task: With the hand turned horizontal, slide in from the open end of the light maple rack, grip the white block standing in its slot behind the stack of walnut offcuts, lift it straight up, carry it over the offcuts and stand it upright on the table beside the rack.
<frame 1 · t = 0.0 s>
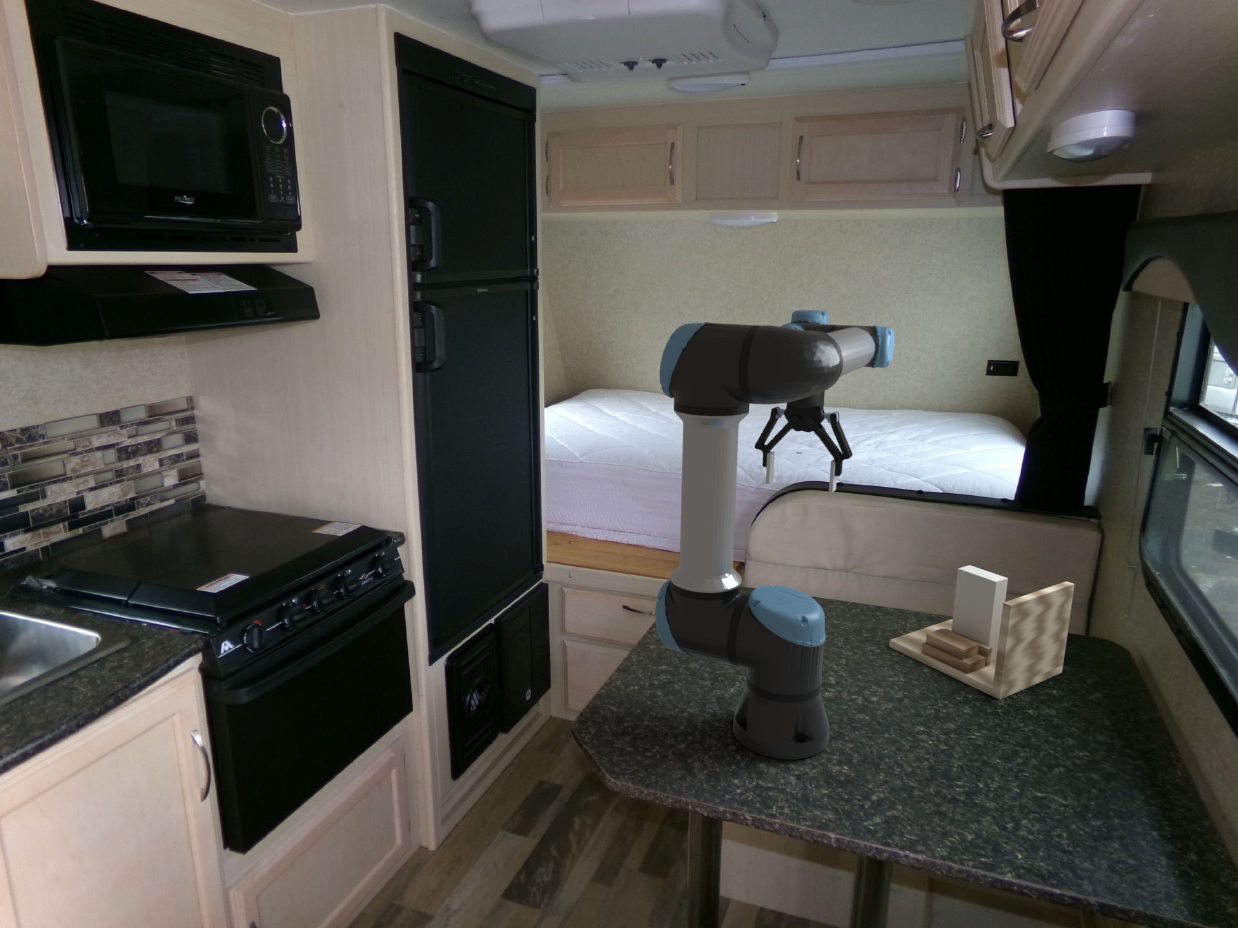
hand: (800, 486, 174), 28 cm above the table, tool pointing down, fingers open, 13 cm apart
maple rack: (972, 659, 158), on the table
white block: (973, 651, 158), point 1 cm above the table, touching maple rack
walnut offcuts: (952, 659, 154), point 1 cm above the table, touching maple rack
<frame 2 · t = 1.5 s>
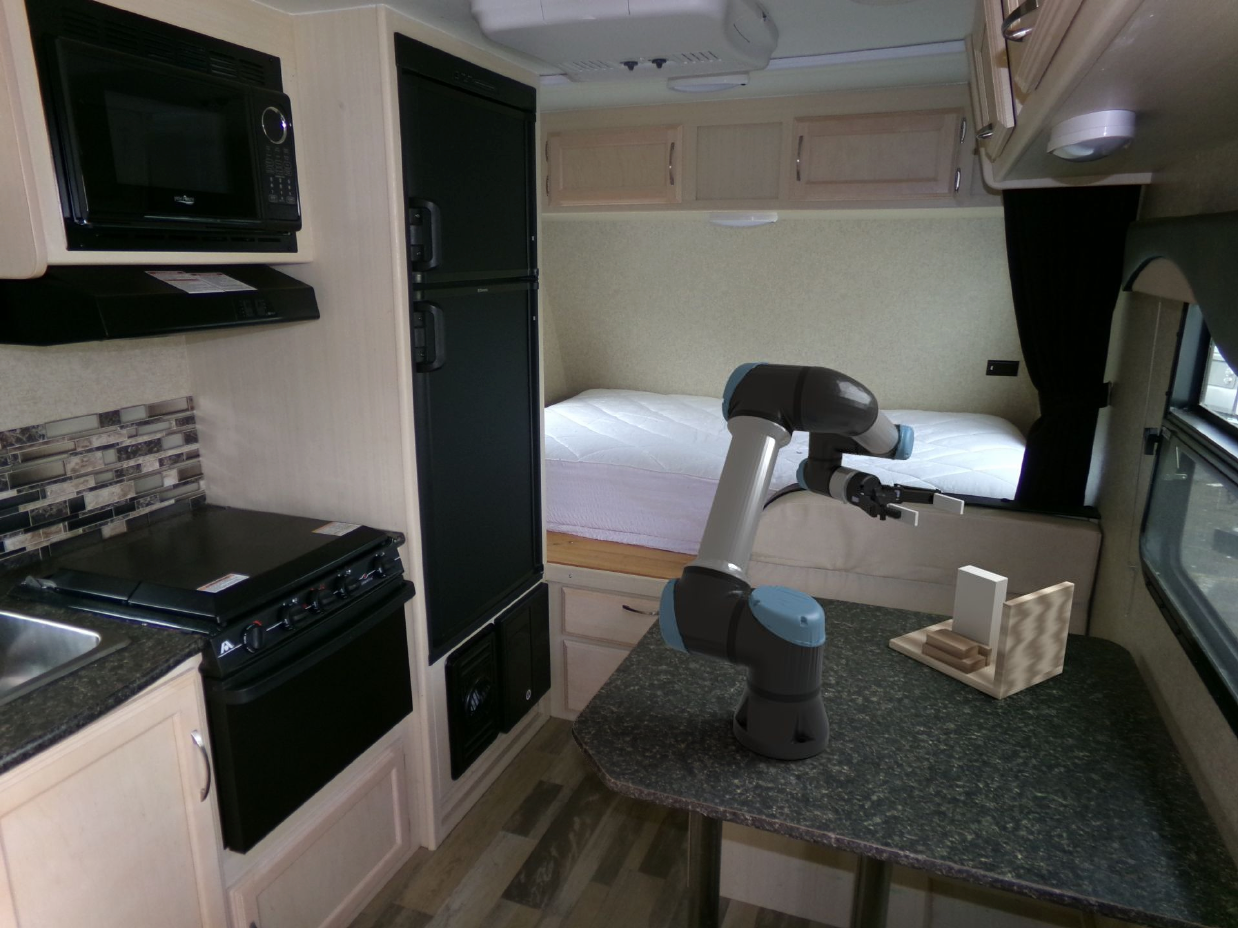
hand: (940, 513, 160), 27 cm above the table, tool horizontal, fingers open, 13 cm apart
nothing on the table moved.
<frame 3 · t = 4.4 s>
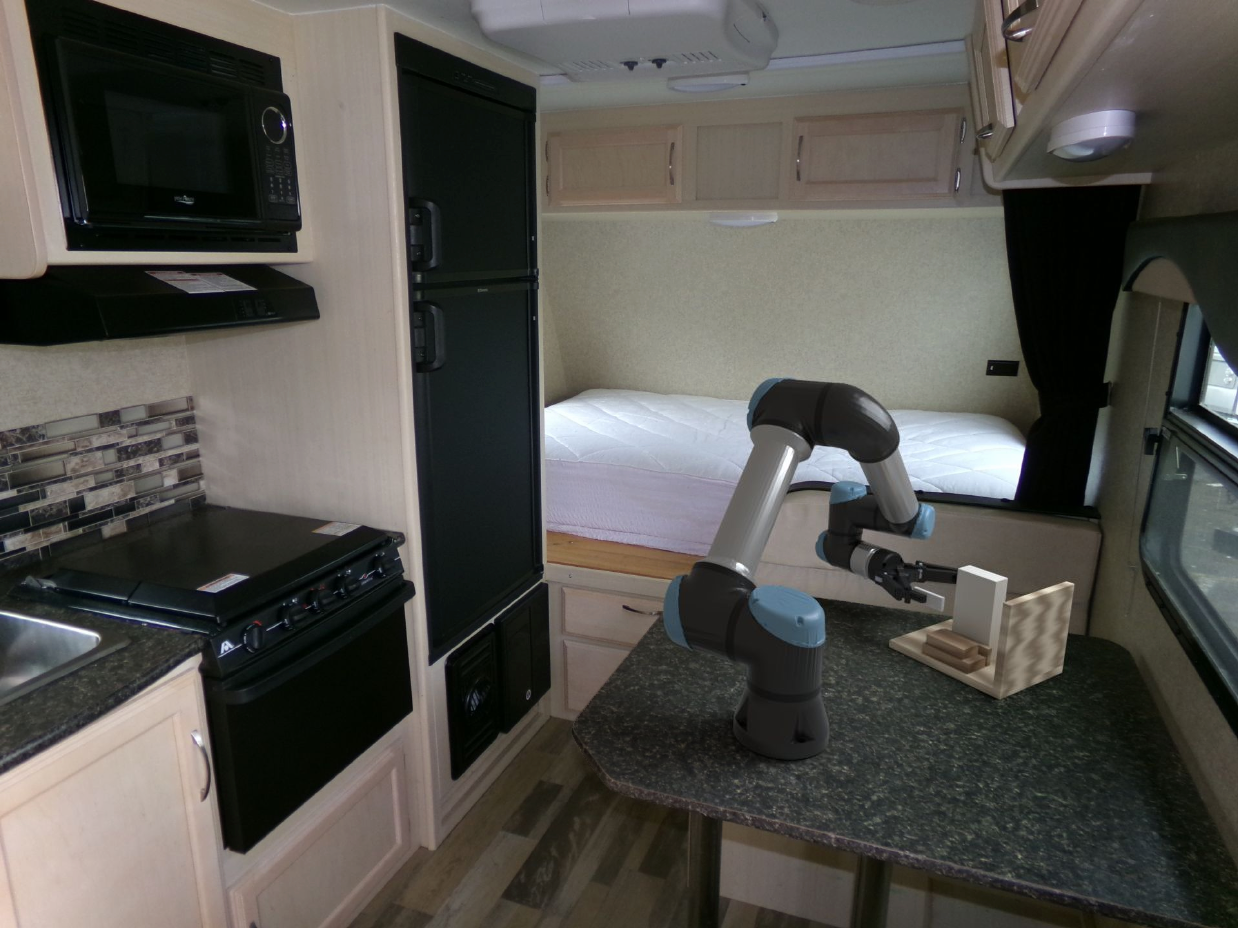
hand: (965, 597, 158), 11 cm above the table, tool horizontal, fingers open, 13 cm apart
nothing on the table moved.
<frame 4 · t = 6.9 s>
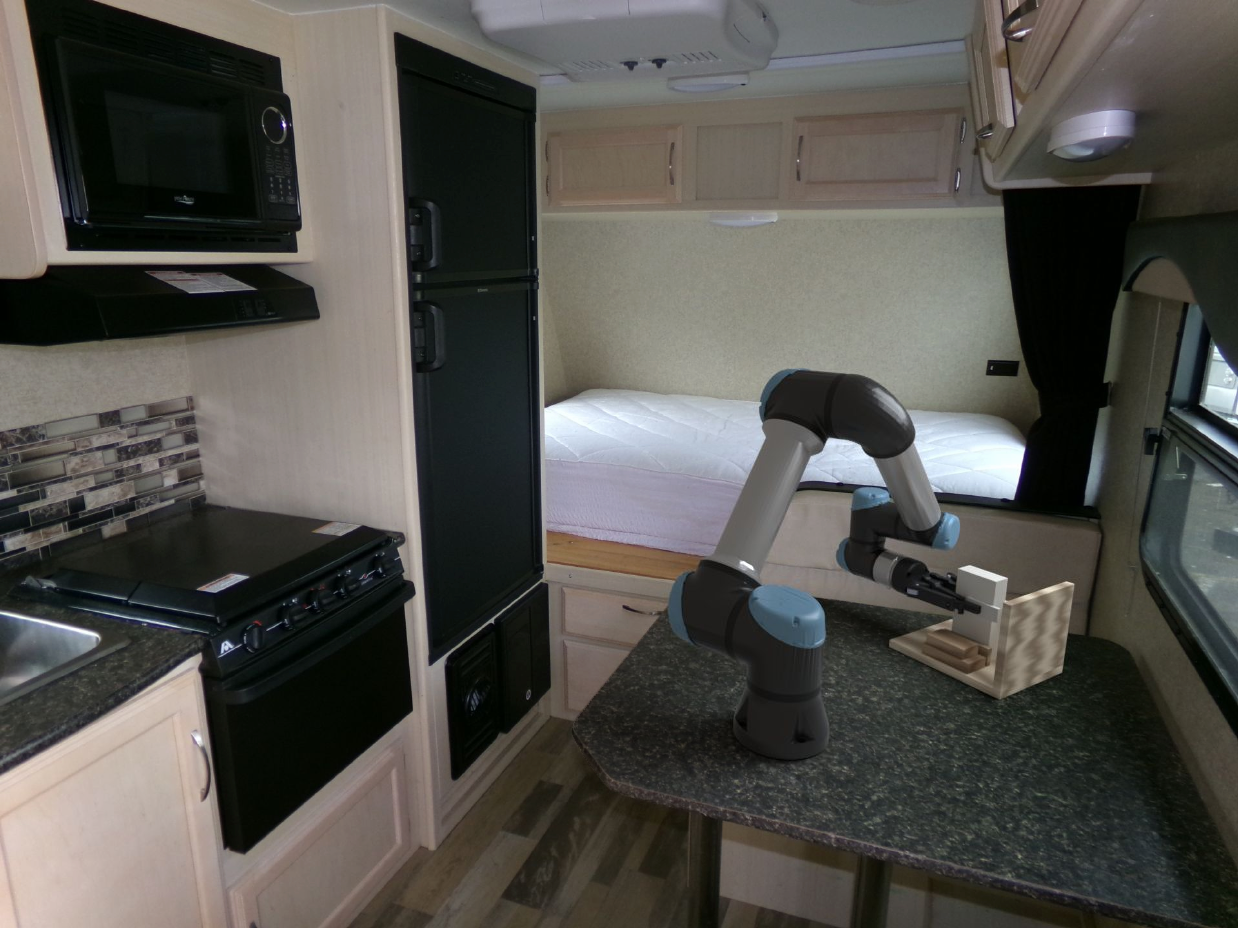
hand: (1005, 613, 151), 11 cm above the table, tool horizontal, fingers closed on white block, 3 cm apart
white block: (973, 651, 158), point 2 cm above the table, touching gripper, maple rack
everything else where it was.
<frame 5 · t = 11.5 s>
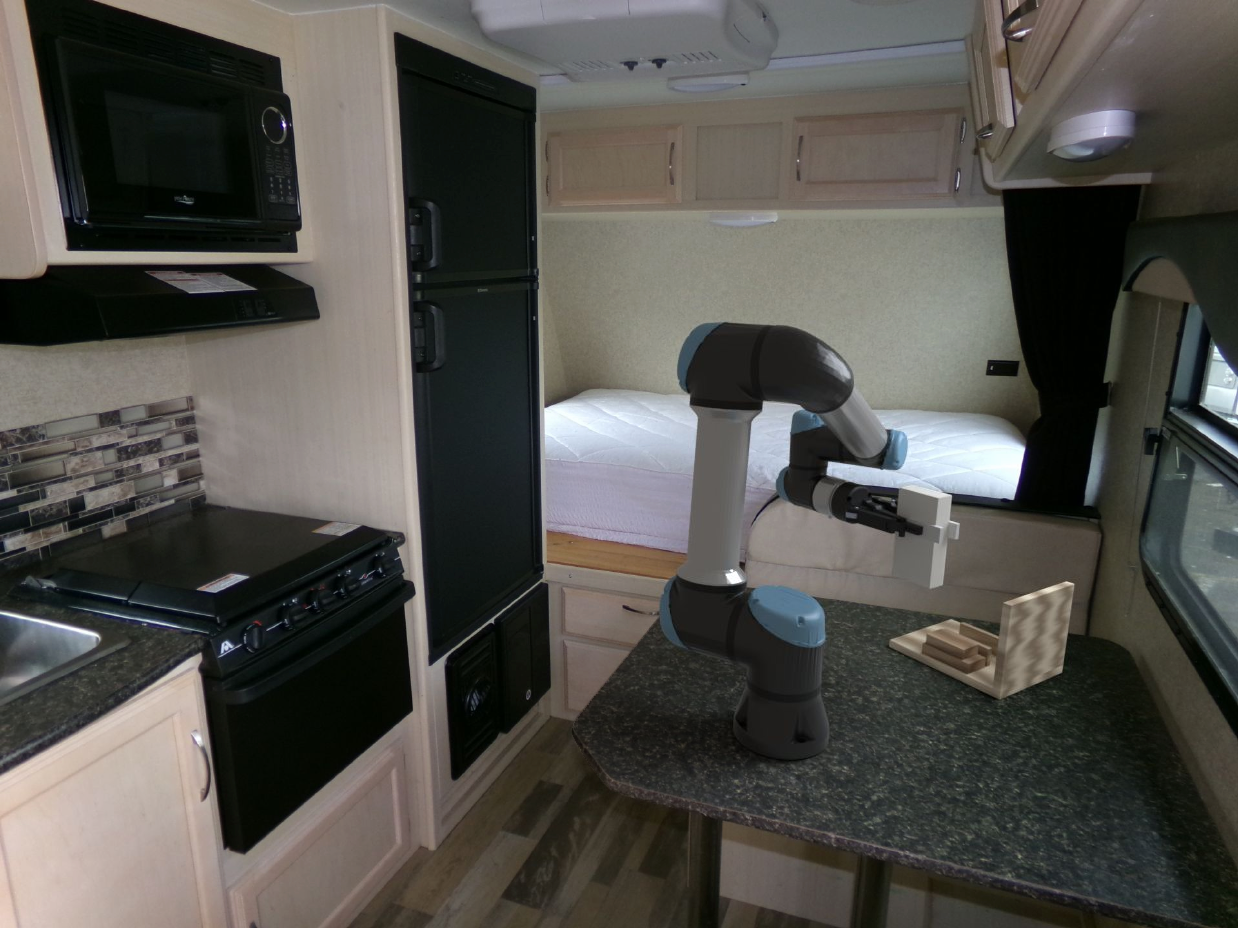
hand: (949, 533, 137), 30 cm above the table, tool horizontal, fingers closed on white block, 3 cm apart
white block: (916, 579, 144), point 20 cm above the table, touching gripper
everything else where it was.
when the fingers open (11 cm above the table, at t = 16.3 s): white block drops 1 cm, on the table.
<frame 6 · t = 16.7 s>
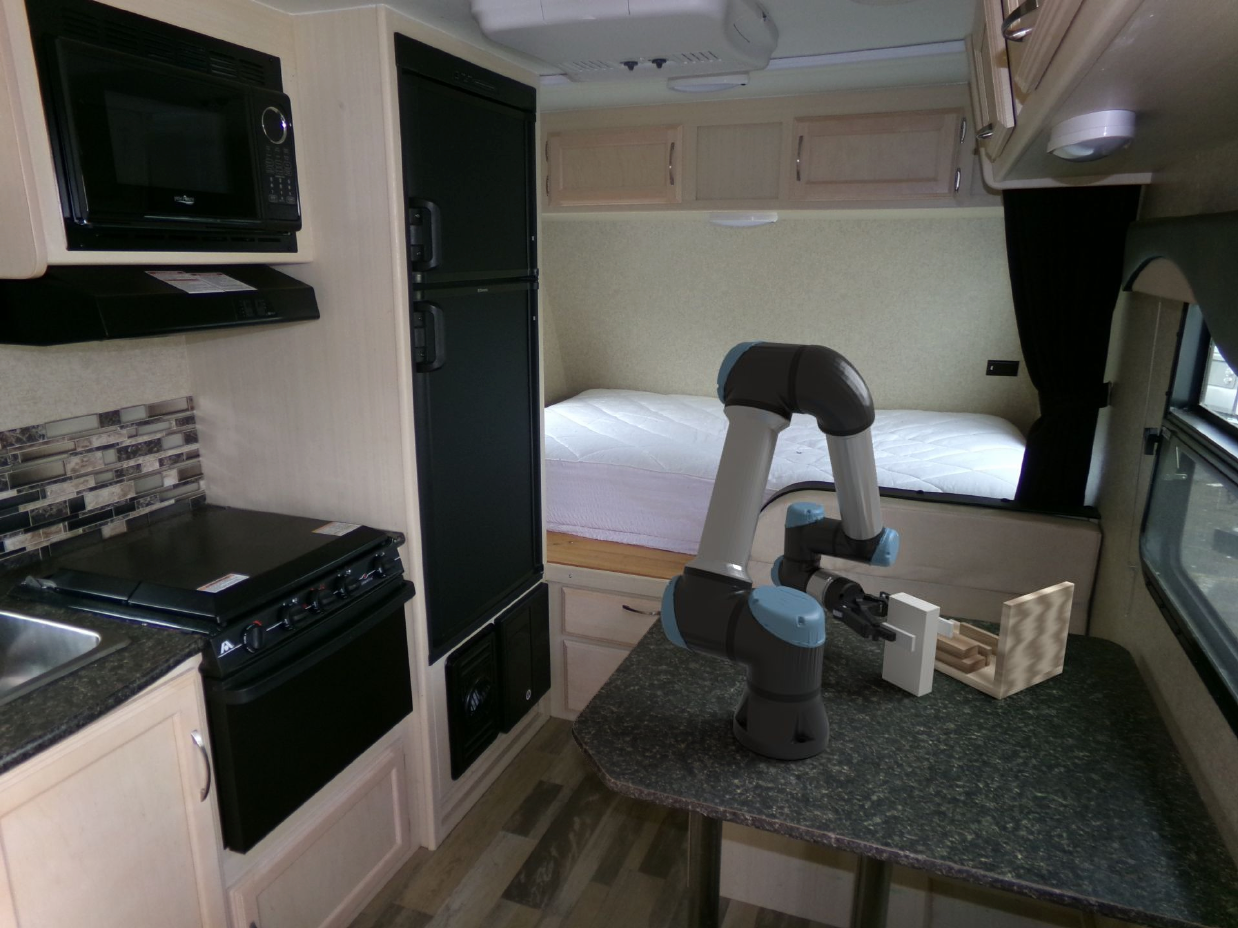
hand: (933, 637, 142), 11 cm above the table, tool horizontal, fingers open, 9 cm apart
white block: (906, 684, 148), on the table
everything else where it was.
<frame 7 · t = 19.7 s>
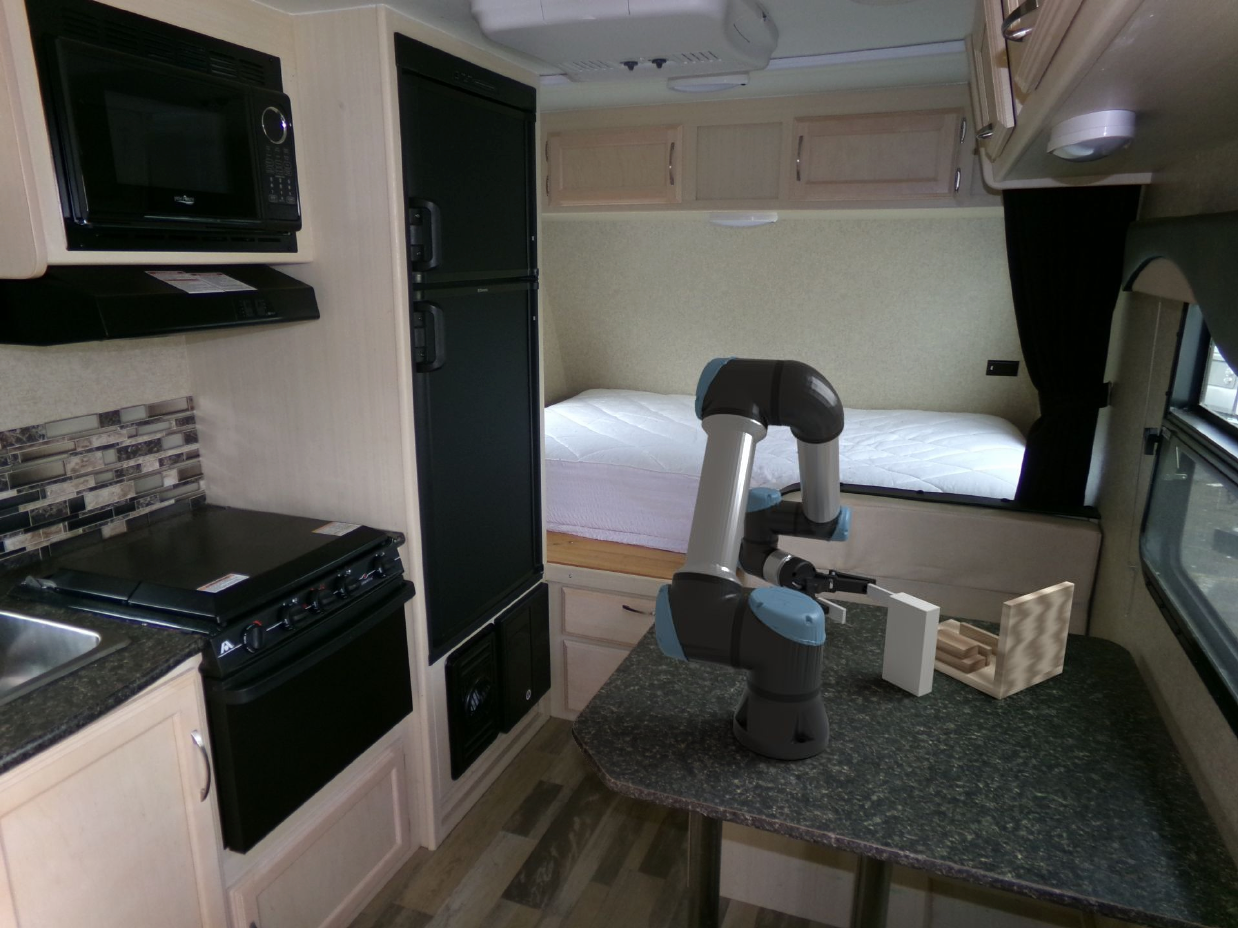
hand: (870, 608, 153), 11 cm above the table, tool horizontal, fingers open, 13 cm apart
nothing on the table moved.
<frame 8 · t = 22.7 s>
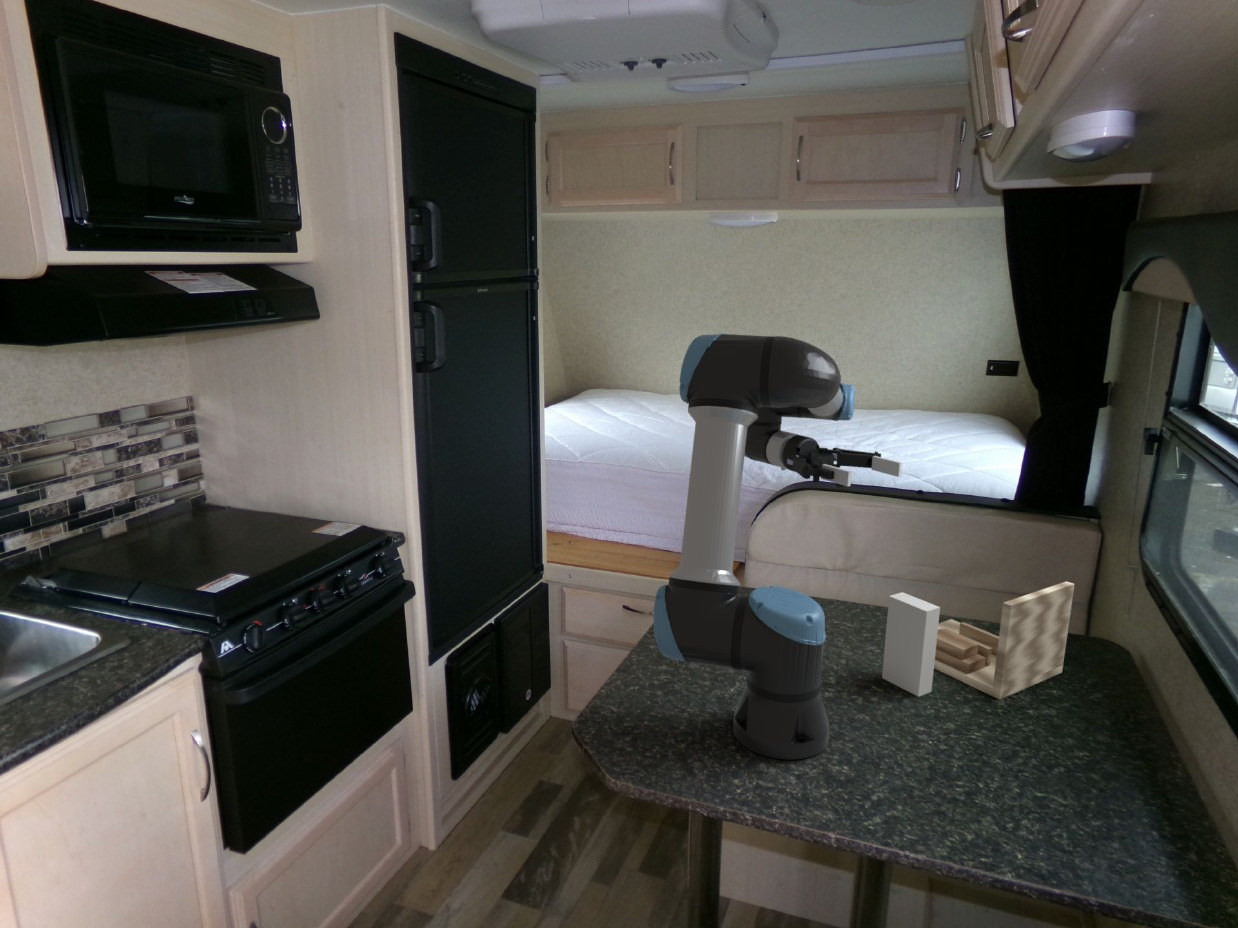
hand: (875, 474, 151), 36 cm above the table, tool horizontal, fingers open, 13 cm apart
nothing on the table moved.
at the end: white block inside the target area (0.1 cm from its centre), on the table; white block tilted 0°; white block touching table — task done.
